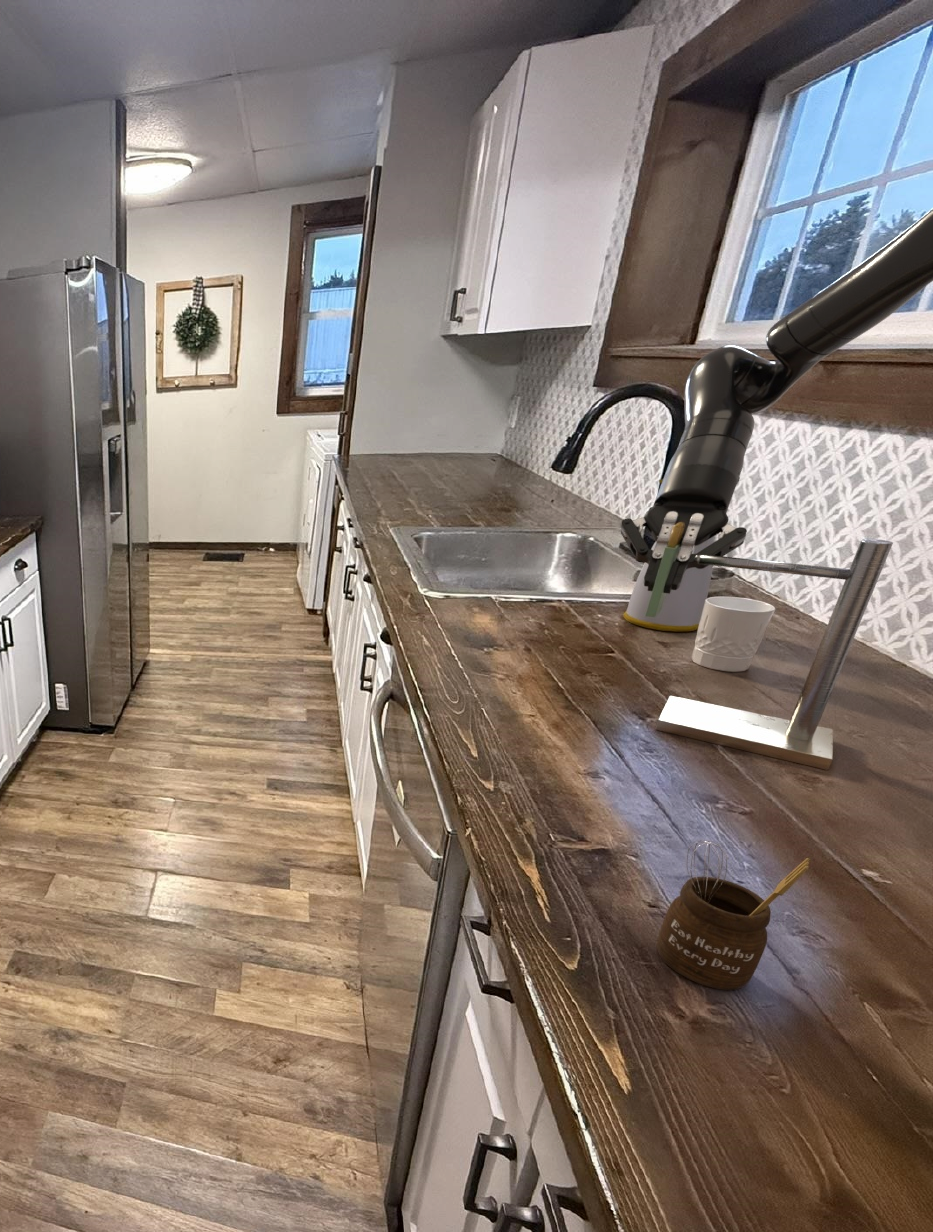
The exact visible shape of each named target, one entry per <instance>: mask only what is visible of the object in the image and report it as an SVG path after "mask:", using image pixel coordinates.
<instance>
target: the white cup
mask: <svg viewBox="0 0 933 1232" xmlns="http://www.w3.org/2000/svg"><path fill="white" fill-rule="evenodd" d="M775 611H776V607H775V606H774V605H772V604H770V603H768V602H765V601H761V600H758V599H751V598H746V597H737V596H725V595H723V596H710V597H707V599H706V600H705V604H704V608H703V612H702V615H701V619H700V623H699V627H698V629H697V630H696V631H697V632H696V637H695V641H694V648H693V651H692V654H691V661H692V662H693V663H695V664H697V665H699V666H701V667H705V668H706V669H707V668H708V669H710V670H716V671H721V672H729V673H730V672H732V673H738V672H746V671H747V670H749V668H750V666H751V665H752V662H753V659H754V656H755V655H756V654H757V652H758V650H759V648H760V644H761V643H762V641H763V639H764V636H765V634H766V632H767V630H768V628H769V625H770V622H771V621H772V618H773V616H774V613H775Z"/></svg>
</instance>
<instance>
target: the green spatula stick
mask: <svg viewBox="0 0 933 1232" xmlns="http://www.w3.org/2000/svg"><path fill="white" fill-rule="evenodd" d="M684 527H685V523H684V522H679V523H677V524H676V525H674V526H673V529H672V532H671V536H670V539H669V543H668V546H667V547H666V548H665V550H664V553H663V557H662V560H661V564H660V567H659V570H658V574H657V577H656V581H655V584H654V587H653V591H652V594H651V598H650V601H649V605H648V608H647V611H646V615H645V616H647V617H656V615H657V614H658V613H659V612H660V611H661V609H662V606H663V603H664V599H665V596H666V593H664V586H665V583H666V580H667V578H668V575H669V572H670V570H671V567H672V564H673V561H675V560H676V558H677V556H678V553H679V549H680V546H681V544H680V540H681V537H682V534H683V530H684Z"/></svg>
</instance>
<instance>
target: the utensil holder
mask: <svg viewBox="0 0 933 1232" xmlns="http://www.w3.org/2000/svg"><path fill="white" fill-rule="evenodd" d="M700 843H701V844H700ZM698 844H700V845H698ZM694 845H695V847H694V851H693V852H692V855H691V861H690V868H692V865H693V868H694V874H695V877H693V875H692V872H689V867H688V863H689V862H688V861H689V852H690V850H691V848H692V847H693V846H694ZM704 845H706V847H705V854H704V862H706V859H708V860H707V868H709V867H710V855H708V857H707V850H708V853H710V852H711V851H710V849H711V847H712V848H713V849H714V851H715V852H716V855H717V857H718V877H712V876H709V869H707V872H706V863H704V864H703V865H704V866H703V876H698V875H697V871H696V863H695V861H696V850H697V849H698V848H700V847H701V846H704ZM714 846H716V847H717V848H718V849H720V850H721V861H720V855H719V853H718V851H717V849H716V848H715V847H714ZM686 854H687V855H686V870H687V874H688V876H689V877H688V878H689V879H687V881H685V882H684V884H683V885H682V886H681V889H680V891H679V895H678V896H677V897H676V898H674V899H673V900H672V901H671V903H670V905H669V906H668V908H667V910H666V914H665V916H664V919H663V922H662V924H661V926H660V927H661V928H660V930H659V933H658V936H657V940H656V950H657V954H658V955H659V957H660V958H661V960H662V961H663V962H664V963H665V964H666V965H667V966H668V968H670V969H671V970H673V971H674V972H676V973H677V974H679V975H680V976H682V977H684V978H686V979H688V980H690V981H692V982H694V983H696V984H699V985H702V986H705V987H708V988H712V989H716V990H726V991H731V990H739V989H741V988H743V987H745V986H746V985H747V984H749V982H750V981H751V979H752V978H753V976H754V974H755V972H756V970H757V968H758V966H759V963H760V961H761V959H762V956H763V954H764V951H765V949H766V946H767V943H768V931H767V928H768V926H769V924H770V921H771V915H772V912H771V908H770V904H772V903H773V902H774V901H775V900H776V899H777V898H778V897H779V896H781V897H782V896H784V895H785V893H787V891H788V890H789V889H791V887H792V886H793V885H794V884H795V883H796V882H797V881H798V880H799V879H800V878H801V877H802V876H803V875H804V874H805V873H806V872H807V870H809V868H810V867H809V865H810V859H811V858H809V857H806V858H805V859H804V860H803V861H802V862H801V863H800V864H799V865H797V866H796V867H795V868H794V869H793V870H791V872H790V873H788V874H787V875H786V876H785V877H784V878H783V879H782V880H781V881H780V882H778V884H777V886H776V888H775V889H774V891H773V892H772V893H770V894H769V896H768V897H767V898H765V900H764V899H763V898H762V897H761V896H759V895H758V894H757V893H755V892H754V891H752V890H750V889H748V888H746V887H745V886H743V885H740V884H738V883H736V882H732V881H730V880H726V877H727V872H728V857H727V855H726V852H725V850H723V849H722V846H720V845H719V844H718V843H717V842H714V843H713V842H711V841H710V840H708V841H705V840H703V841H701V840H698V841H697V842H695V843H693V844H691V845H690V846H689V847H688V850H687V853H686ZM724 855H725V864H726V865H725V873H724V874H725V875H724V878H723V879H722V878H720V876H721V873H722V871H723V861H724V860H723V859H724ZM705 874H706V876H705Z"/></svg>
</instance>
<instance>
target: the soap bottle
mask: <svg viewBox="0 0 933 1232" xmlns="http://www.w3.org/2000/svg"><path fill="white" fill-rule="evenodd" d="M662 481H663V478H661V479H659V480H658V482H659V484H662ZM714 537H715V536H714ZM714 537H712V538H710V539H708V540H707V541H705V542H703V543H702V544H700V545H697V546H696V547H695V549H694V552H693V554H696V553H698V552H700V551H701V550H703V549H704V548H706V547H707V546H709V545H711V544H712V543H714V542H715V538H714ZM656 543H657V541H655V542H654V543H653V545H652V546H651V548H650V549H651V550H654V548H655V546H656ZM679 550H680V549H679ZM648 566H649V565H648V564H647V563H645V562H643V565H642V568H641V569H640V572H639V574H638V576H637V578H636V581H635V583H634V587H633V589H632V592H631V595H630V598H629V602H628V605H627V608H626V610H625V612H624V613H623V614H622V616H623V618H624V619H625V621H627V622H629V623H631V624H633V625H636V626H637V627H642V628H646V629H649V630H650V629H651V630H656V631H662V632H675V633H678V632H692V631H698V627H699V623H700V619H701V615H702V612H703V608H704V604H705V600H706V599H707V598H708V595H709V591H710V588H711V587H710V586H711V581H712V574H713V568H714V565H708V566H707V567H705V568H703V569H698V568H696V567H694V568H689V569H687V570H686V571H685V573H684V576H683V579H682V581H681V584H680V587H679V588H678V589H677V590H671V592H670V594H668V593H666V596H665V599H664V603H663V606H662V609H661V611H660V612H659V613H658V614H657V615H656V617H647V616H645V615H646V611H647V608H648V605H649V601H650V598H651V594H652V591H648V587H647V586H644V576H645V574H646V571H647V568H648Z"/></svg>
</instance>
